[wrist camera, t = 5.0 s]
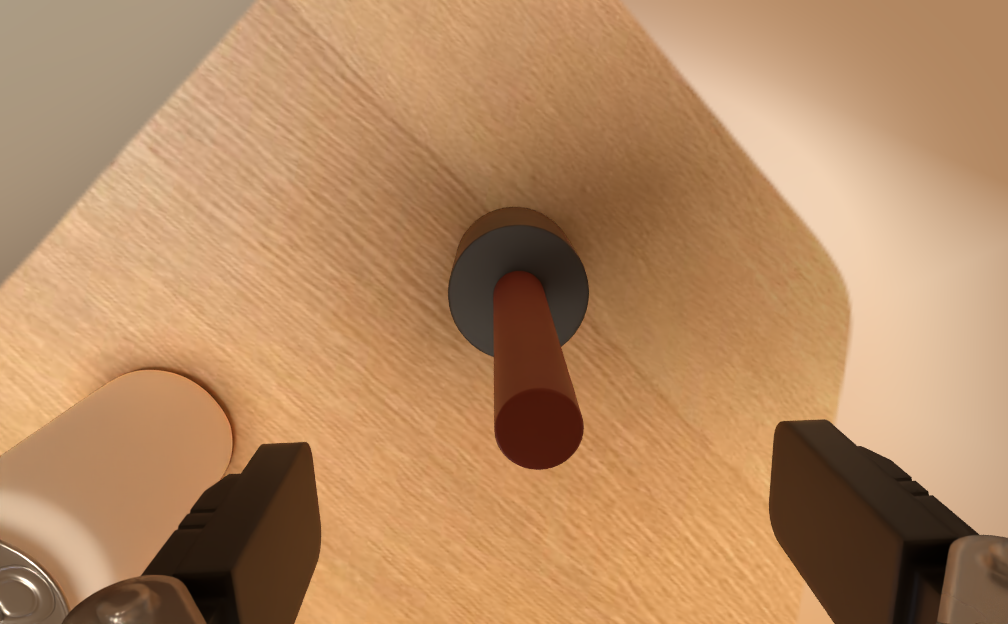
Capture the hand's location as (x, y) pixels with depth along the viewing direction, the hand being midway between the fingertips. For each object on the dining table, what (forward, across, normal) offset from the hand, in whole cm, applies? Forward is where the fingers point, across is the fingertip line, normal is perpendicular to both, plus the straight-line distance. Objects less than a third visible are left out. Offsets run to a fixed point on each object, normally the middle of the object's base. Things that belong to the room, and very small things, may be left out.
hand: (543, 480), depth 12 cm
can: (+18, +16, +7) cm, 25 cm away
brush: (+18, 0, 0) cm, 18 cm away
